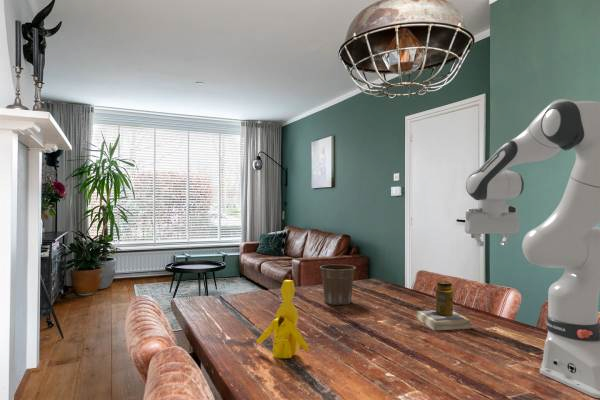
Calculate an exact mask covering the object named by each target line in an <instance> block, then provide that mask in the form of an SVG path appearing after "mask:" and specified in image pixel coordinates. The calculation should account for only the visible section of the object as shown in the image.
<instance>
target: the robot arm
mask: <svg viewBox="0 0 600 400" xmlns="http://www.w3.org/2000/svg"><path fill="white" fill-rule="evenodd" d="M572 149H573V151H574V153H575V161H574V164H573V167H572V169H571V172H570V176H569V179H568V182H567V184H566V187H565V190H564V193H563V195H562V198H561V199H560V202H559V204H558V205H557V206H556V208H555V209H554V210H553V212H552V213H551V214H550V216H548V217H547V218H546V219H545V221H543V222H542V223H541V224H539V225H538V226H536V227H534V228H532V229H531V230H528V231H527V233H526V234H525V235H524V236H523V240H522V244H521V250H522V252H523V255H524V257H525V259H526V260H527V261H528V262H529V263H530V264H531V265H534V266H539V267H542V268H547V269H548V268H549V269H564V272H563V274H562V275H561V277H560V278H559V279H557V280H556V281H554V282H553V283H552V284H551V285H550V286H549V288H548V291H547V295H548V297H547V299H548V300H547V303H548V304H547V307H548V309H547V311H548V314H546V318H545V319H546V320H545V324H546V325H545V326H546V327H545V328H546V330H547V336H546V338H545V341H544V347H543V357H542V361H541V367H540V369H539V373H540V374H541V375H542V376H545V377H548V378H550V379H552V380H554V381H557V382H559V383H561V384H563V385H566V386H568V387H569V388H573V389H575V390H577V391H579V392H581V393H583V394H585V395H587V396H590V397H593V398H596V399H600V321H599V300H600V299H599V296H600V227H597V225H598V224H600V101H595V100H579V101H574V100H571V99H567V98H562V99H561V98H560V99H556V100H554V101H552V102H550V103H549V104H548V105H547V106H546V107H544V109H542V110H541V112H539V113H538V114H537V116H536V117H534V119H533V120H532V121H531V123H530V124H529V125H528V126H527V127H526V129H524V130H523V131H522V132H520V133H519V134H518V135H517V136H516V137H514V138H512V139H511V140H509V141H507V142H505V143H504V144H503V145H501V146H500V147H499V148H498V149H497V150H496V151H495V152H494V153H493V154H492V155H491V156H490V157H489V158H488V159H487V160H486V161H485V162H484V164H482V165H481V166H480V167H479V168H478V169H475V170H474V171H473V172H471V174H470V175H469V176H468V178H467V179H466V183H465V189H466V192H467V193H468V195H469V196H470V197H471V198H472V199H474V200H475V201H478V208H468V210H466V212H465V222H464V232H465V233H466V234H468V235H473V237H474V238H475V241H476V246H477V247H484V244H485V243H484V241H482V239H481V238H482V235H487V234H488V235H493V234H495V235H496V234H502V236H503V238H502V240H499V243H500V244H499V245H500V246H501V247H507V245H508V241H509V238H510V237H511V234H518V233H519V231H520V216H519V215H518V213H519V208H518V207H517V206H514V205H511V204H508V203H506V200H513V199H517V198H519V197H520V196H521V194H522V193H523V191H524V187H525V181H524V178H523V177H522V175H521V174H520V173H519V172H517V171H516V172H515V171H512V170H509V168H511V167H514V166H516V165H521V164H527V163H535V162H541V161H545V160H548V159H550V158H553V157H554V156H555V155H556V154H558V153H559V152H560V151H561V150H562V151H569V150H572Z"/></svg>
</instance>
